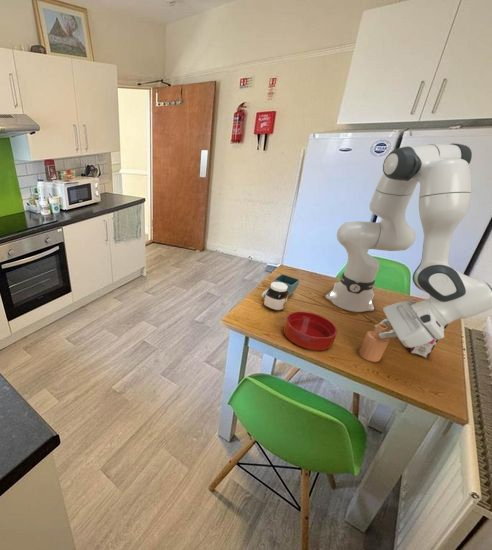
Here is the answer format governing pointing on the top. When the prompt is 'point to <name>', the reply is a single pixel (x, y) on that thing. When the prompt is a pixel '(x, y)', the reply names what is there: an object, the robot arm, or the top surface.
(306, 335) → the bowl
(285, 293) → the spread jar
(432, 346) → the candy bar box
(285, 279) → the flower pot
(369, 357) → the bottle
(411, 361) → the top surface
